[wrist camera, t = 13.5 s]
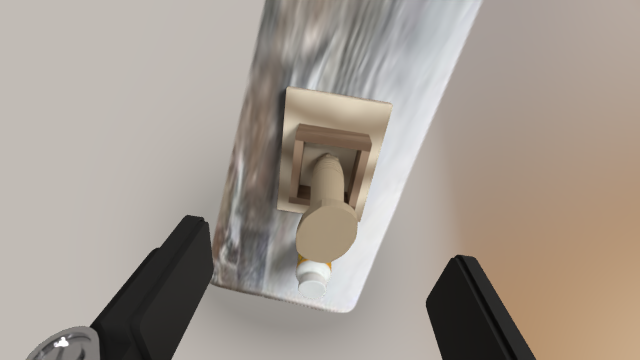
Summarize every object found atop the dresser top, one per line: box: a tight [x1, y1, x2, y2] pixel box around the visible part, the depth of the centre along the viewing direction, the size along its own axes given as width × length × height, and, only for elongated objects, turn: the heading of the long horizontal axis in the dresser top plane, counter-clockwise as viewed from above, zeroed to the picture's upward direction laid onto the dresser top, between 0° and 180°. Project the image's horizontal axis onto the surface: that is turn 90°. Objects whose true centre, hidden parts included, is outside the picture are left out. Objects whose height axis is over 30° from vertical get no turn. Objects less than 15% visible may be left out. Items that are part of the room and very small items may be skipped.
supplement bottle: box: [296, 254, 331, 299], centre depth 40 cm, size 5×5×10 cm
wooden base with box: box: [277, 86, 393, 222], centre depth 34 cm, size 18×13×5 cm
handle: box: [296, 153, 358, 263], centre depth 29 cm, size 5×6×15 cm
